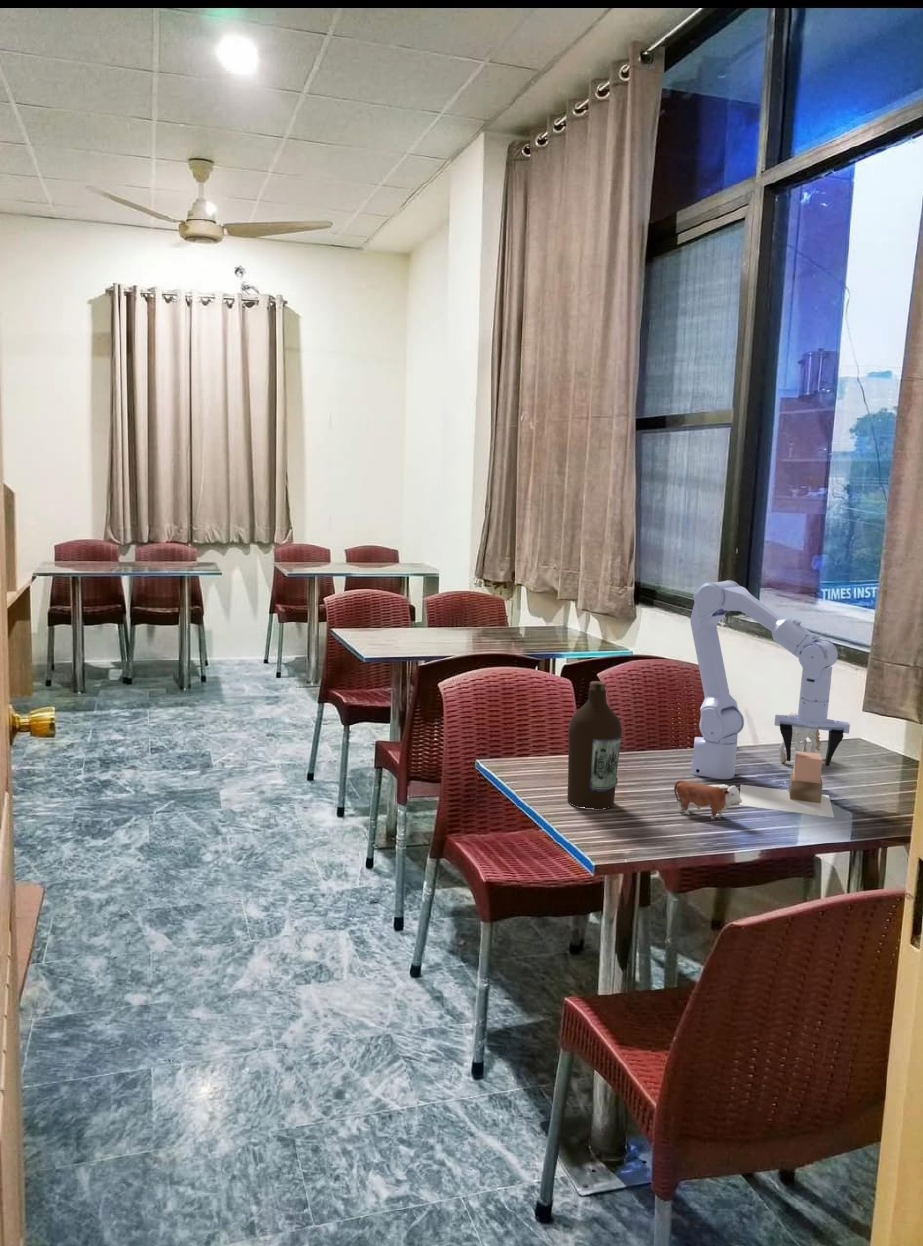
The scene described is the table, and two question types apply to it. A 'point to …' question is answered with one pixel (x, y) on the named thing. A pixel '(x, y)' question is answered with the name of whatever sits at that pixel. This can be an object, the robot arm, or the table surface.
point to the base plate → (782, 801)
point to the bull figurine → (706, 796)
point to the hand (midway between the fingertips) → (807, 762)
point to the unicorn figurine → (801, 739)
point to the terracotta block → (807, 767)
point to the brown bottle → (593, 752)
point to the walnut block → (805, 790)
